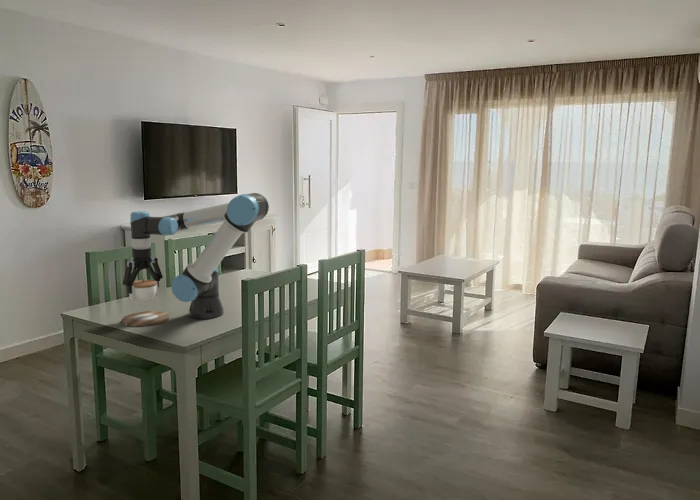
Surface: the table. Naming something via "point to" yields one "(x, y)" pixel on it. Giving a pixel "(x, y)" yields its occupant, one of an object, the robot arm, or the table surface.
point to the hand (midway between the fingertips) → (144, 297)
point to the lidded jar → (144, 290)
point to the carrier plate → (146, 318)
